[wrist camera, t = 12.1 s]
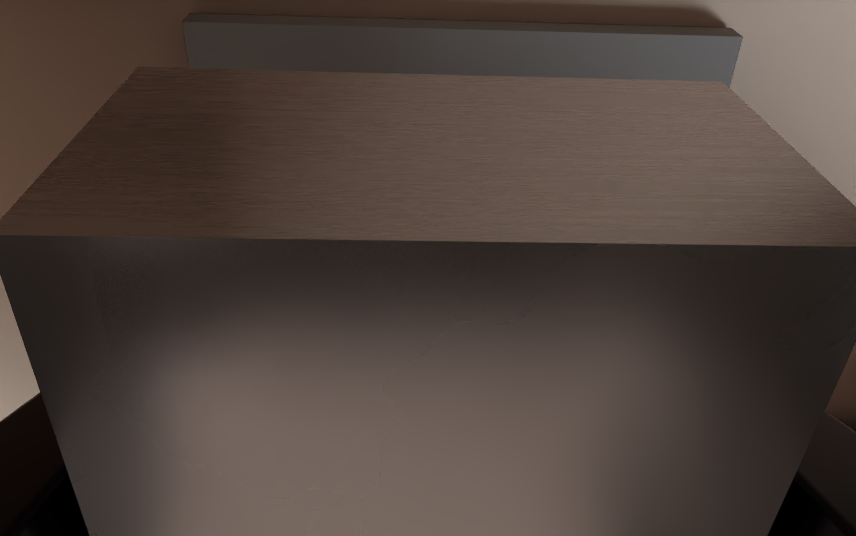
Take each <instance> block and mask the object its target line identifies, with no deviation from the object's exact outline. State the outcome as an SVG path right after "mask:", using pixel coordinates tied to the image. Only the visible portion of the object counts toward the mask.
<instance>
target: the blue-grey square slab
mask: <svg viewBox="0 0 856 536" xmlns="http://www.w3.org/2000/svg"><path fill="white" fill-rule="evenodd" d="M182 25H183V32H184V39H185V46H186V52H187V59H188V66H189V69H228V70H269V71H310V72H351V73H393V74H434V75H475V76H516V77H557V78H598V79H639V80H680V81H721V82H723V83H724V84H725V85H726V86H728V87H729V86H730V83H731V79H732V75H733V72H734V68H735V64H736V60H737V57H738V53H739V49H740V46H741V42H742V38H743V37H742V36H741V35H740V34H738V33H737V32H736V31H734V30H733V29H732V28H717V27H680V26H643V25H607V24H570V23H533V22H497V21H460V20H424V19H387V18H350V17H314V16H277V15H241V14H204V13H189V14H188V16H187V17H186V18H185V19H184V20H183V21H182Z"/></svg>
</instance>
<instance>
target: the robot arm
mask: <svg viewBox="0 0 856 536" xmlns="http://www.w3.org/2000/svg"><path fill="white" fill-rule="evenodd" d="M0 536H89V533H88V530H87V527H86V524H85V521H84V518H83V515H82V512H81V509H80V506H79V503H78V501H77V498H76V495H75V492H74V489H73V486H72V483H71V480H70V477H69V474H68V471H67V468H66V465H65V462H64V460H63V457H62V454H61V451H60V448H59V445H58V442H57V439H56V436H55V433H54V430H53V427H52V424H51V421H50V419H49V416H48V413H47V410H46V407H45V404H44V401H43V398H42V395H41V392H40V393H39V394H37V395H36V396H34V397H33V398H32V399H30V400H29V401H28V402H26V403H25V404H24V405H22V406H21V407H19V408H18V409H17V410H15V411H14V412H13V413H11V414H10V415H9V416H7V417H6V418H4V419H3V420H2V421H0ZM767 536H856V432H855V431H854V430H852V429H851V428H849V427H848V426H846V425H845V424H844V423H842V422H841V421H839V420H838V419H836V418H835V417H834V416H832V415H831V414H829V413H828V412H826V411H825V410H824V412H823V415H822V417H821V419H820V421H819V423H818V426H817V428H816V430H815V432H814V434H813V437H812V439H811V441H810V443H809V445H808V448H807V450H806V452H805V454H804V456H803V458H802V461H801V463H800V465H799V467H798V469H797V472H796V474H795V476H794V478H793V480H792V483H791V485H790V487H789V489H788V491H787V494H786V496H785V498H784V500H783V502H782V505H781V507H780V509H779V511H778V513H777V515H776V518H775V520H774V522H773V524H772V526H771V529H770V531H769V533H768V535H767Z"/></svg>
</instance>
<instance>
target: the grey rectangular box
mask: <svg viewBox="0 0 856 536" xmlns="http://www.w3.org/2000/svg"><path fill="white" fill-rule="evenodd" d="M0 275H1V278H2V281H3V284H4V287H5V290H6V293H7V295H8V298H9V301H10V304H11V307H12V310H13V313H14V316H15V319H16V322H17V325H18V328H19V331H20V334H21V336H22V339H23V342H24V345H25V348H26V351H27V354H28V357H29V360H30V363H31V366H32V369H33V372H34V375H35V377H36V380H37V383H38V386H39V389H40V392H41V395H42V398H43V401H44V404H45V407H46V410H47V413H48V416H49V419H50V421H51V424H52V427H53V430H54V433H55V436H56V439H57V442H58V445H59V448H60V451H61V454H62V457H63V460H64V462H65V465H66V468H67V471H68V474H69V477H70V480H71V483H72V486H73V489H74V492H75V495H76V498H77V501H78V503H79V506H80V509H81V512H82V515H83V518H84V521H85V524H86V527H87V530H88V533H89V536H767V535H768V533H769V531H770V529H771V526H772V524H773V522H774V520H775V518H776V515H777V513H778V511H779V509H780V507H781V505H782V502H783V500H784V498H785V496H786V494H787V491H788V489H789V487H790V485H791V483H792V480H793V478H794V476H795V474H796V472H797V469H798V467H799V465H800V463H801V461H802V458H803V456H804V454H805V452H806V450H807V448H808V445H809V443H810V441H811V439H812V437H813V434H814V432H815V430H816V428H817V426H818V423H819V421H820V419H821V417H822V415H823V412H824V410H825V408H826V406H827V404H828V401H829V399H830V397H831V395H832V393H833V391H834V388H835V386H836V384H837V382H838V380H839V377H840V375H841V373H842V371H843V369H844V366H845V364H846V362H847V360H848V358H849V355H850V353H851V351H852V349H853V347H854V344H855V342H856V207H855V206H854V205H853V204H852V203H851V202H850V201H849V200H848V199H847V198H846V197H845V196H844V195H843V194H842V193H840V192H839V191H838V190H837V189H836V188H835V187H834V186H833V185H832V184H831V183H830V182H829V181H828V180H827V179H826V178H824V177H823V176H822V175H821V174H820V173H819V172H818V171H817V170H816V169H815V168H814V167H813V166H812V165H811V164H810V163H809V162H807V161H806V160H805V159H804V158H803V157H802V156H801V155H800V154H799V153H798V152H797V151H796V150H795V149H794V148H793V147H791V146H790V145H789V144H788V143H787V142H786V141H785V140H784V139H783V138H782V137H781V136H780V135H779V134H778V133H777V132H775V131H774V130H773V129H772V128H771V127H770V126H769V125H768V124H767V123H766V122H765V121H764V120H763V119H762V118H761V117H760V116H758V115H757V114H756V113H755V112H754V111H753V110H752V109H751V108H750V107H749V106H748V105H747V104H746V103H745V102H744V101H742V100H741V99H740V98H739V97H738V96H737V95H736V94H735V93H734V92H733V91H732V90H731V89H730V88H729V87H728V86H726V85H725V84H724V83H723V82H721V81H680V80H639V79H598V78H557V77H516V76H475V75H434V74H393V73H351V72H310V71H269V70H228V69H187V68H146V67H138V68H137V69H136V70H135V71H134V72H133V73H132V74H131V75H130V77H129V78H128V79H127V80H126V81H125V82H124V83H123V84H122V85H121V87H120V88H119V89H118V90H117V91H116V92H115V93H114V94H113V95H112V96H111V98H110V99H109V100H108V101H107V102H106V103H105V104H104V105H103V106H102V108H101V109H100V110H99V111H98V112H97V113H96V114H95V115H94V116H93V118H92V119H91V120H90V121H89V122H88V123H87V124H86V125H85V126H84V128H83V129H82V130H81V131H80V132H79V133H78V134H77V135H76V136H75V138H74V139H73V140H72V141H71V142H70V143H69V144H68V145H67V146H66V148H65V149H64V150H63V151H62V152H61V153H60V154H59V155H58V156H57V158H56V159H55V160H54V161H53V162H52V163H51V164H50V165H49V166H48V167H47V169H46V170H45V171H44V172H43V173H42V174H41V175H40V176H39V177H38V179H37V180H36V181H35V182H34V183H33V184H32V185H31V186H30V187H29V189H28V190H27V191H26V192H25V193H24V194H23V195H22V196H21V197H20V199H19V200H18V201H17V202H16V203H15V204H14V205H13V206H12V207H11V209H10V210H9V211H8V212H7V213H6V214H5V215H4V216H3V217H2V219H1V220H0Z"/></svg>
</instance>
